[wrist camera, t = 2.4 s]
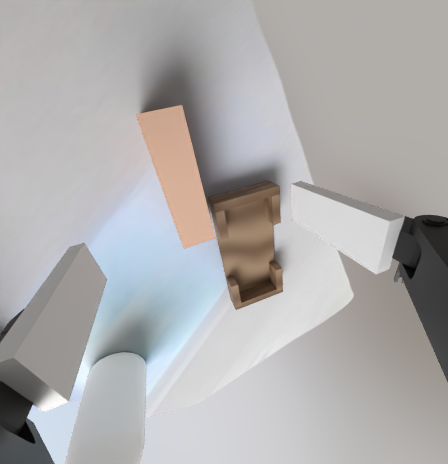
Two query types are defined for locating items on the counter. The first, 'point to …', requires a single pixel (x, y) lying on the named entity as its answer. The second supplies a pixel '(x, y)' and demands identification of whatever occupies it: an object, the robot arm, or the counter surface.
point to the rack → (248, 241)
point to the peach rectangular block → (177, 172)
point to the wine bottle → (111, 413)
